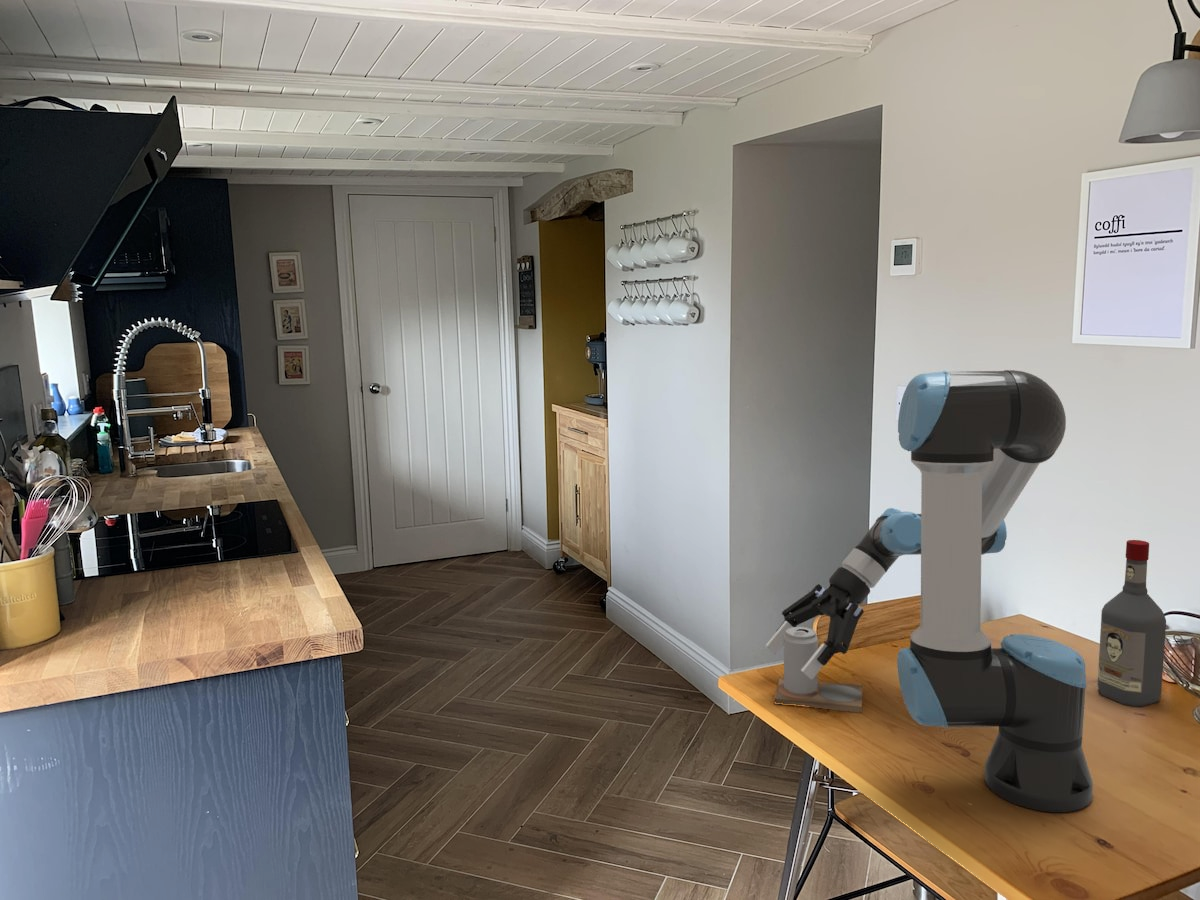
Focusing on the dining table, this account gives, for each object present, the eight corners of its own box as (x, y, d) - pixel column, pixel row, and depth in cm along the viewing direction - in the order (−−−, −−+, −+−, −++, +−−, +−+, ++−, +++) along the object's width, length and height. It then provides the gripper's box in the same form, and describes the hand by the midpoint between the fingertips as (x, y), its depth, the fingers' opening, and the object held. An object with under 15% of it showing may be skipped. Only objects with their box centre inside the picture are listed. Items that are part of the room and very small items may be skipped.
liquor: (1123, 682, 179) (1132, 534, 175) (1167, 700, 171) (1178, 544, 166) (1090, 691, 176) (1098, 539, 171) (1133, 709, 167) (1143, 551, 163)
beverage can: (822, 688, 177) (823, 629, 176) (809, 700, 172) (810, 639, 170) (791, 681, 181) (791, 623, 179) (778, 692, 176) (778, 633, 174)
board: (861, 712, 169) (861, 706, 169) (774, 704, 174) (774, 697, 174) (862, 691, 179) (862, 684, 178) (779, 683, 183) (779, 677, 183)
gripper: (907, 608, 167) (835, 698, 165) (832, 572, 191) (768, 651, 189) (883, 583, 165) (810, 674, 163) (810, 550, 188) (745, 630, 186)
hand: (787, 662), depth 176 cm, fingers open, 13 cm apart
